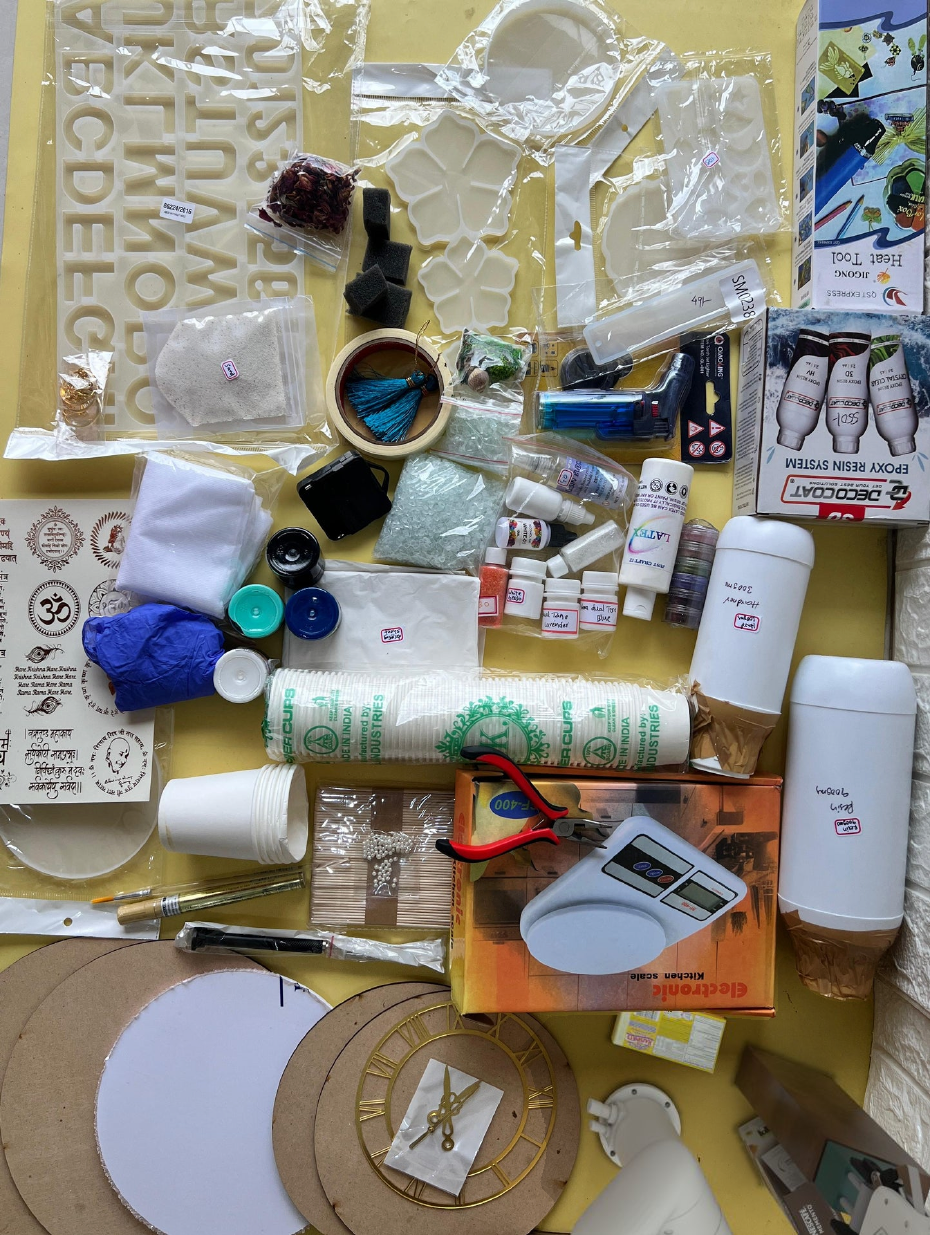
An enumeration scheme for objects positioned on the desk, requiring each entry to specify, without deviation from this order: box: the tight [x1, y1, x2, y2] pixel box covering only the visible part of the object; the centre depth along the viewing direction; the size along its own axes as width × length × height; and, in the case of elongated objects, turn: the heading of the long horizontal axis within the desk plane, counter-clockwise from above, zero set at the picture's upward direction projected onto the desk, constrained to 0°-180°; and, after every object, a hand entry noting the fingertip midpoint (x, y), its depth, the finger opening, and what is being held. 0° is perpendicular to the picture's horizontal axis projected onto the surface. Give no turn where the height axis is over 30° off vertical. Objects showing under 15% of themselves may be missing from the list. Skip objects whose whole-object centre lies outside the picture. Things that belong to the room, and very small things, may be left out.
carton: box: [814, 1141, 905, 1234], centre depth 93 cm, size 9×6×9 cm, turn 69°
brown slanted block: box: [733, 1045, 930, 1207], centre depth 110 cm, size 14×6×25 cm, turn 69°
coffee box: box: [737, 1115, 846, 1235], centre depth 114 cm, size 9×6×16 cm
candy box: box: [610, 1011, 727, 1075], centre depth 122 cm, size 16×2×8 cm
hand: (852, 1194), depth 92 cm, fingers open, 6 cm apart
